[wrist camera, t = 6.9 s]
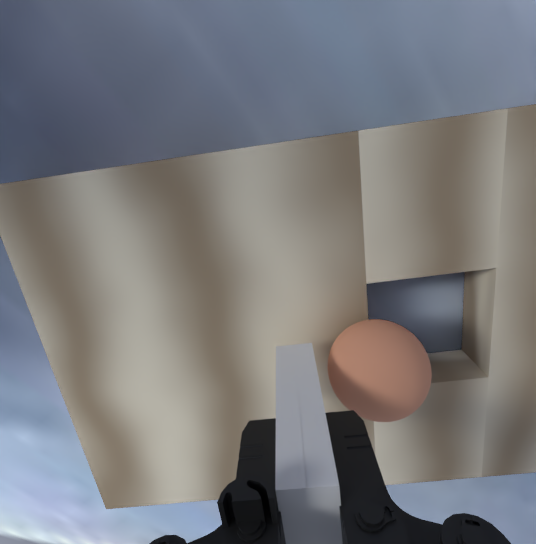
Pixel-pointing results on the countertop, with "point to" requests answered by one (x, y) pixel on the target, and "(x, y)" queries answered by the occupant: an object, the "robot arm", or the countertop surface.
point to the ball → (379, 370)
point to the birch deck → (281, 294)
